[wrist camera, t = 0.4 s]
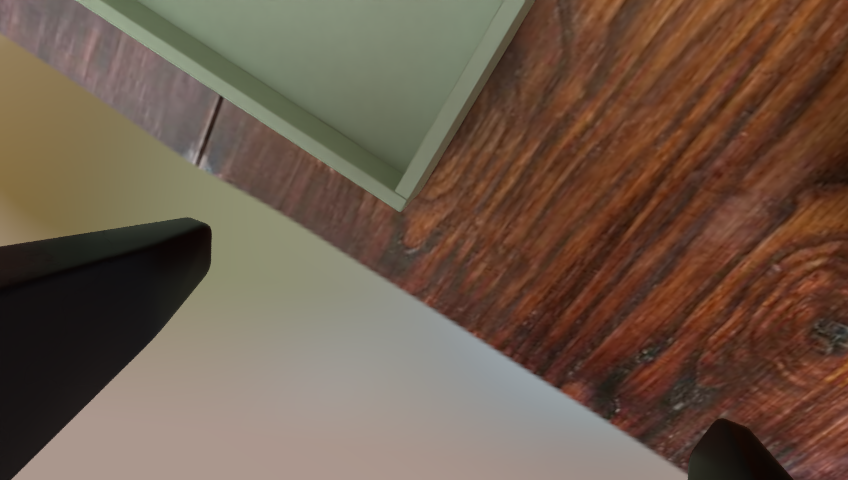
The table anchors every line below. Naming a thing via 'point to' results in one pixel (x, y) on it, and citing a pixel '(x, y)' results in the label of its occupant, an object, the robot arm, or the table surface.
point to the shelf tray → (338, 71)
